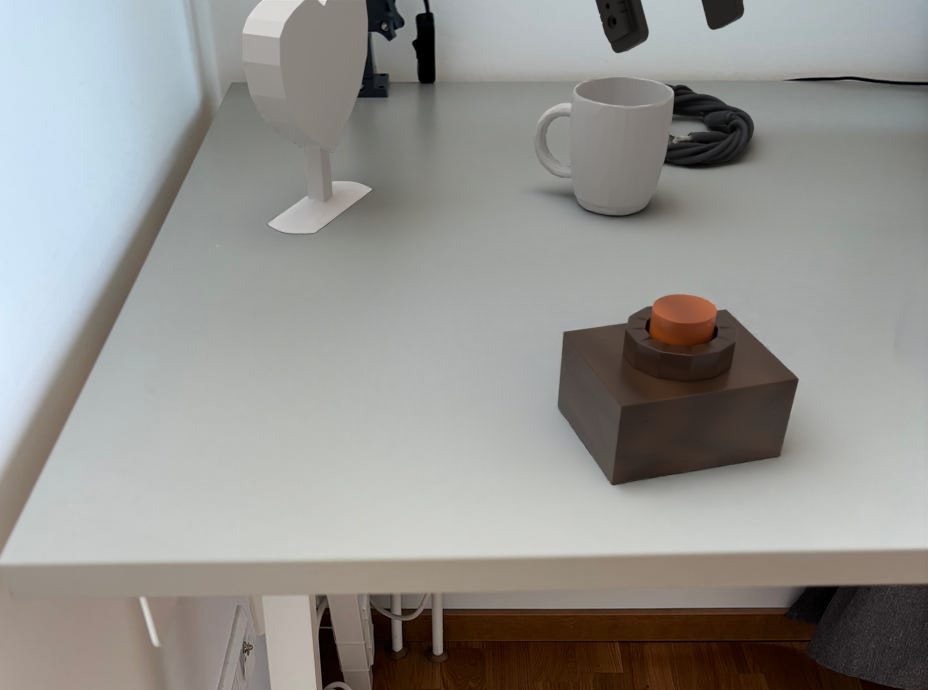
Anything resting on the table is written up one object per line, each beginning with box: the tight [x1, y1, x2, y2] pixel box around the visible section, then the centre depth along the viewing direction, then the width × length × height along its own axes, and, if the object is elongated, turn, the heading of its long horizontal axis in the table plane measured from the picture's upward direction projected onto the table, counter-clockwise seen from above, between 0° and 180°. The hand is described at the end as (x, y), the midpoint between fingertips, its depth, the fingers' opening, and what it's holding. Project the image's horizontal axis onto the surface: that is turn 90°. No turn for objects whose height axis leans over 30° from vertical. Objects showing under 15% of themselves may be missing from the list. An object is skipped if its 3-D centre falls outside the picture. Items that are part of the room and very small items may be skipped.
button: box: [649, 293, 718, 346], centre depth 69 cm, size 4×4×2 cm
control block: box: [557, 305, 800, 485], centre depth 71 cm, size 12×10×8 cm
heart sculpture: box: [241, 0, 373, 234], centre depth 97 cm, size 16×5×18 cm, turn 156°
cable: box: [664, 83, 755, 165], centre depth 115 cm, size 17×14×4 cm
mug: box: [533, 75, 674, 216], centre depth 101 cm, size 13×9×10 cm
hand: (681, 35), depth 62 cm, fingers open, 8 cm apart
